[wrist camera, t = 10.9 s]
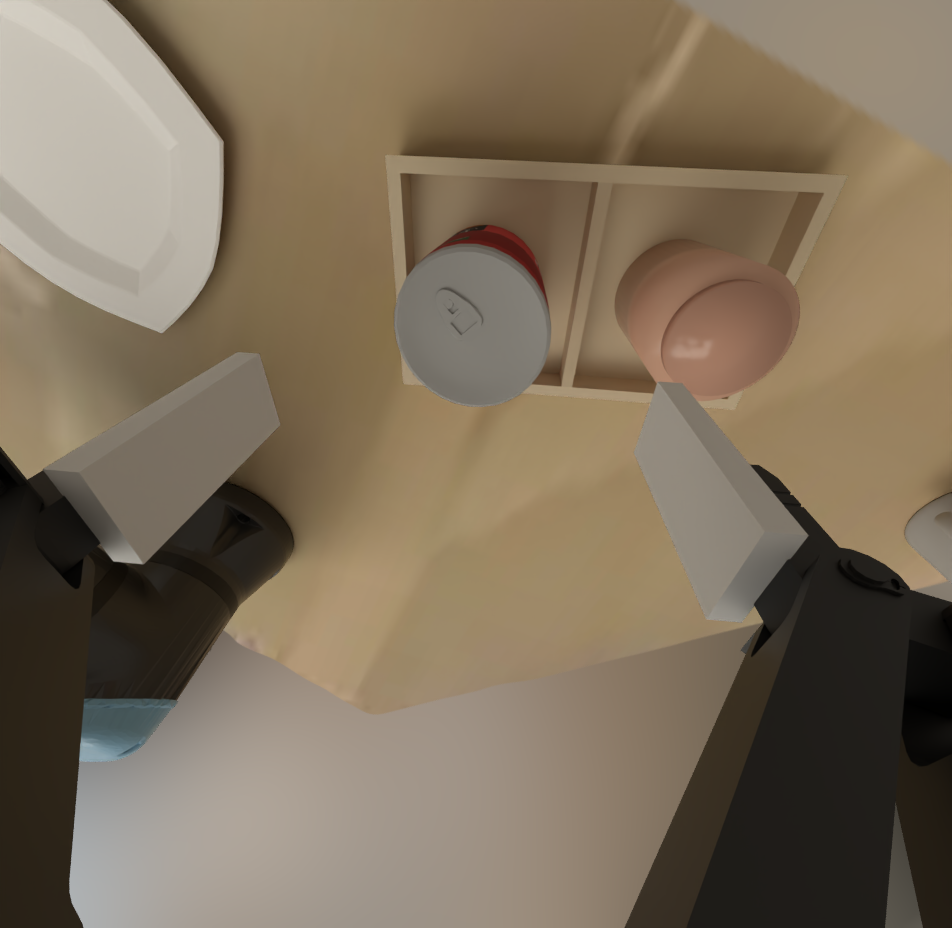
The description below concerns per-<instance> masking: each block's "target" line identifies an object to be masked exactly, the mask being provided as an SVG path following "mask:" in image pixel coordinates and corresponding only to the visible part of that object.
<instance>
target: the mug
mask: <svg viewBox="0 0 952 928" xmlns="http://www.w3.org/2000/svg"><path fill="white" fill-rule="evenodd" d="M905 538H906V540H907V542H908V543H909V545H910V546H911V547H912V548H913V549H914V550H915V551H916V552H918V553H919V554H920V555H921V556H922V557H923V558H924V559H925V560H926V561H928V562H929V563H930V564H931V565H932V566H933V567H934V568H935V569H936V570H937V571H939V572H940V573H941V574H942V575H943V576H944V577H945V578H946V579H947V580H948V581H949V582H950V583H951V584H952V493H949V494H947V495H944V496H942V497H940V498H938V499H936V500H934V501H932V502H930V503H929V504H927V505H926V506H924V507H923V508H921V509H920V510H919V511H918V512H917V513H916V514H914V516H913V517H912V518H911V519H910V520H909V522H908V524H907V526H906V529H905Z"/></svg>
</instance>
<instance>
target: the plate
mask: <svg viewBox="0 0 952 928" xmlns="http://www.w3.org/2000/svg"><path fill="white" fill-rule="evenodd" d="M223 189H224V141H223V140H222V139H221V137H220V136H219V135H218V133H217V132H216V130H215V129H214V128H213V126H212V125H211V124H210V122H209V121H208V120H207V118H206V117H205V116H204V114H203V113H202V112H201V110H200V109H199V108H198V106H197V105H196V104H195V102H194V101H193V100H192V98H191V97H190V96H189V95H188V93H187V92H186V91H185V89H184V88H183V87H182V86H181V84H180V83H179V82H178V80H177V79H176V78H175V76H174V75H173V74H172V73H171V71H170V70H169V69H168V67H167V66H166V65H165V64H164V62H163V61H162V60H161V59H160V57H159V56H158V55H157V54H156V53H155V52H154V50H153V49H152V48H151V47H150V46H149V45H148V44H147V42H146V41H145V40H144V39H143V38H142V37H141V35H140V34H139V33H138V32H137V31H136V30H135V29H134V27H133V26H132V25H131V24H130V23H129V22H128V20H127V19H126V18H125V17H124V16H123V15H122V14H121V13H120V12H119V11H118V10H117V9H116V8H114V7H113V6H112V5H111V4H110V3H109V2H108V1H107V0H0V244H2V245H3V246H4V247H5V248H7V249H8V250H9V251H10V252H11V253H13V254H14V255H15V256H16V257H18V258H19V259H20V260H21V261H23V262H24V263H25V264H26V265H28V266H29V267H31V268H32V269H34V270H35V271H36V272H38V273H39V274H41V275H42V276H44V277H45V278H46V279H48V280H49V281H51V282H52V283H54V284H56V285H57V286H59V287H61V288H62V289H64V290H66V291H68V292H69V293H71V294H73V295H74V296H76V297H78V298H80V299H82V300H84V301H86V302H88V303H90V304H92V305H94V306H96V307H98V308H100V309H103V310H105V311H107V312H109V313H112V314H114V315H117V316H119V317H121V318H124V319H126V320H129V321H131V322H134V323H136V324H139V325H141V326H144V327H147V328H149V329H152V330H154V331H157V332H160V333H163V332H164V331H166V330H167V329H168V328H169V327H170V326H171V325H172V324H173V323H174V322H175V321H176V320H177V319H178V318H179V317H180V316H181V315H182V314H183V313H184V312H185V311H186V310H187V309H188V307H189V306H190V305H191V304H192V303H193V301H194V300H195V298H196V297H197V296H198V294H199V293H200V292H201V290H202V289H203V287H204V285H205V283H206V281H207V279H208V278H209V276H210V274H211V272H212V270H213V268H214V263H215V259H216V255H217V251H218V246H219V240H220V231H221V223H222V214H223Z"/></svg>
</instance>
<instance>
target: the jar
mask: <svg viewBox="0 0 952 928" xmlns="http://www.w3.org/2000/svg"><path fill="white" fill-rule="evenodd" d="M614 308H615V316H616V320H617V322H618V325H619V327H620V328H621V330H622V332H623V333H624V335H625V336H626V338H627V339H628V341H629V342H630V344H631V345H632V347H633V348H634V350H635V351H636V353H637V354H638V356H639V357H640V359H641V360H642V362H643V364H644V365H645V367H646V368H647V370H648V371H649V373H650V374H651V376H652V377H653V379H654V380H655V382H656V383H657V382H673V383H683V385H684V386H685V387H686V388H687V390H688V391H689V392H690V393H691V394H692V396H693V397H694V398H695V399H696V400H697V401H710V400H716V399H721V398H724V397H728V396H731V395H733V394H736V393H738V392H740V391H742V390H744V389H746V388H748V387H750V386H751V385H753V384H754V383H756V382H757V381H759V380H760V379H761V378H763V377H764V376H765V375H766V374H767V373H769V372H770V371H771V370H772V369H773V368H774V367H775V366H776V365H777V363H778V362H779V361H780V360H781V359H782V357H783V356H784V355H785V353H786V352H787V350H788V348H789V347H790V345H791V343H792V341H793V339H794V336H795V334H796V331H797V328H798V323H799V317H800V305H799V298H798V295H797V292H796V290H795V288H794V286H793V285H792V283H791V282H790V280H789V279H788V278H787V277H786V276H785V275H784V274H782V273H781V272H780V271H778V270H776V269H774V268H772V267H770V266H767V265H764V264H762V263H759V262H756V261H753V260H750V259H747V258H744V257H741V256H738V255H736V254H733V253H730V252H727V251H724V250H721V249H718V248H715V247H712V246H710V245H707V244H704V243H701V242H698V241H694V240H690V239H674V240H669V241H666V242H662V243H660V244H658V245H655V246H653V247H652V248H650V249H648V250H647V251H645V252H644V253H643V254H641V255H640V256H639V257H638V258H637V259H636V260H635V261H634V262H633V263H632V264H631V265H630V266H629V268H628V269H627V270H626V272H625V273H624V275H623V277H622V279H621V281H620V283H619V285H618V288H617V292H616V296H615V306H614Z"/></svg>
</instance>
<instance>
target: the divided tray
mask: <svg viewBox="0 0 952 928" xmlns="http://www.w3.org/2000/svg"><path fill="white" fill-rule="evenodd" d="M385 159H386V172H387V185H388V197H389V210H390V223H391V235H392V248H393V261H394V273H395V286H396V299H397V298H398V294H399V292H400V290H401V288H402V286H403V283H404V281H405V279H406V277H407V276H408V275H409V273H410V272H411V271H412V269H413V268H414V267H415V266H416V264H418V263H419V262H420V261H421V260H422V259H423V258H424V257H426V256H427V255H428V254H429V253H430V252H432V251H433V250H434V249H436V248H437V247H438V246H440V245H441V244H442V243H444V242H445V241H446V240H448V239H449V238H451V237H452V236H453V235H455V234H456V233H457V232H459V231H461V230H463V229H465V228H468V227H472V226H476V225H493V226H497V227H501V228H504V229H506V230H508V231H510V232H512V233H514V234H515V235H516V236H518V237H519V238H520V239H521V240H523V241H524V242H525V244H526V245H527V246H528V247H529V248H530V250H531V251H532V253H533V254H534V256H535V258H536V260H537V262H538V265H539V268H540V271H541V274H542V279H543V283H544V287H545V292H546V296H547V300H548V305H549V312H550V320H551V341H550V347H549V351H548V355H547V358H546V362H545V364H544V366H543V368H542V370H541V372H540V374H539V375H538V376H537V378H536V379H535V380H534V382H533V383H532V384H531V385H530V386H529V387H528V388H527V389H526V390H525V391H523V392H522V393H524V394H537V395H550V396H562V397H575V398H588V399H601V400H613V401H626V402H639V403H651V400H652V397H653V394H654V391H655V388H656V385H657V383H656V382H655V380H654V379H653V377H652V376H651V374H650V373H649V371H648V370H647V368H646V367H645V365H644V364H643V362H642V360H641V359H640V357H639V356H638V354H637V353H636V351H635V350H634V348H633V347H632V345H631V344H630V342H629V341H628V339H627V338H626V336H625V335H624V333H623V332H622V330H621V328H620V327H619V325H618V322H617V320H616V316H615V308H614V306H615V296H616V292H617V288H618V285H619V283H620V281H621V279H622V277H623V275H624V273H625V272H626V270H627V269H628V268H629V266H630V265H631V264H632V263H633V262H634V261H635V260H636V259H637V258H638V257H639V256H640V255H641V254H643V253H644V252H645V251H647V250H648V249H650V248H652V247H653V246H655V245H658V244H660V243H662V242H666V241H669V240H674V239H690V240H694V241H698V242H701V243H704V244H707V245H710V246H712V247H715V248H718V249H721V250H724V251H727V252H730V253H733V254H736V255H738V256H741V257H744V258H747V259H750V260H753V261H756V262H759V263H762V264H764V265H767V266H770V267H772V268H774V269H776V270H778V271H780V272H781V273H782V274H784V275H785V276H786V277H787V278H788V279H789V280H790V282H791V283H792V285H793V286H794V287H795V285H796V282H797V280H798V278H799V276H800V274H801V272H802V270H803V268H804V266H805V264H806V262H807V260H808V258H809V256H810V254H811V252H812V250H813V248H814V245H815V243H816V241H817V239H818V237H819V235H820V233H821V231H822V229H823V227H824V225H825V223H826V221H827V219H828V217H829V215H830V213H831V211H832V208H833V206H834V204H835V202H836V200H837V198H838V196H839V194H840V192H841V190H842V188H843V186H844V184H845V182H846V180H847V178H848V176H849V175H832V174H809V173H787V172H764V171H742V170H719V169H696V168H674V167H651V166H628V165H606V164H583V163H560V162H538V161H515V160H492V159H470V158H447V157H424V156H402V155H385ZM401 362H402V375H403V384H410V385H422V386H424V385H423V384H422V383H421V382H420V381H419V380H418V379H417V378H416V377H415V375H414V374H413V373H412V372H411V371H410V369H409V368H408V366H407V364H406V362H405V361H404V359H403V357H402V355H401ZM743 391H744V390H742V391H740V392H738V393H736V394H733V395H731V396H728V397H724V398H721V399H716V400H710V401H697V402H698V403H699V404H700V405H701V406H702V407H703V408H715V409H728V410H735V408H736V406H737V404H738V402H739V400H740V398H741V395H742V393H743Z"/></svg>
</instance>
